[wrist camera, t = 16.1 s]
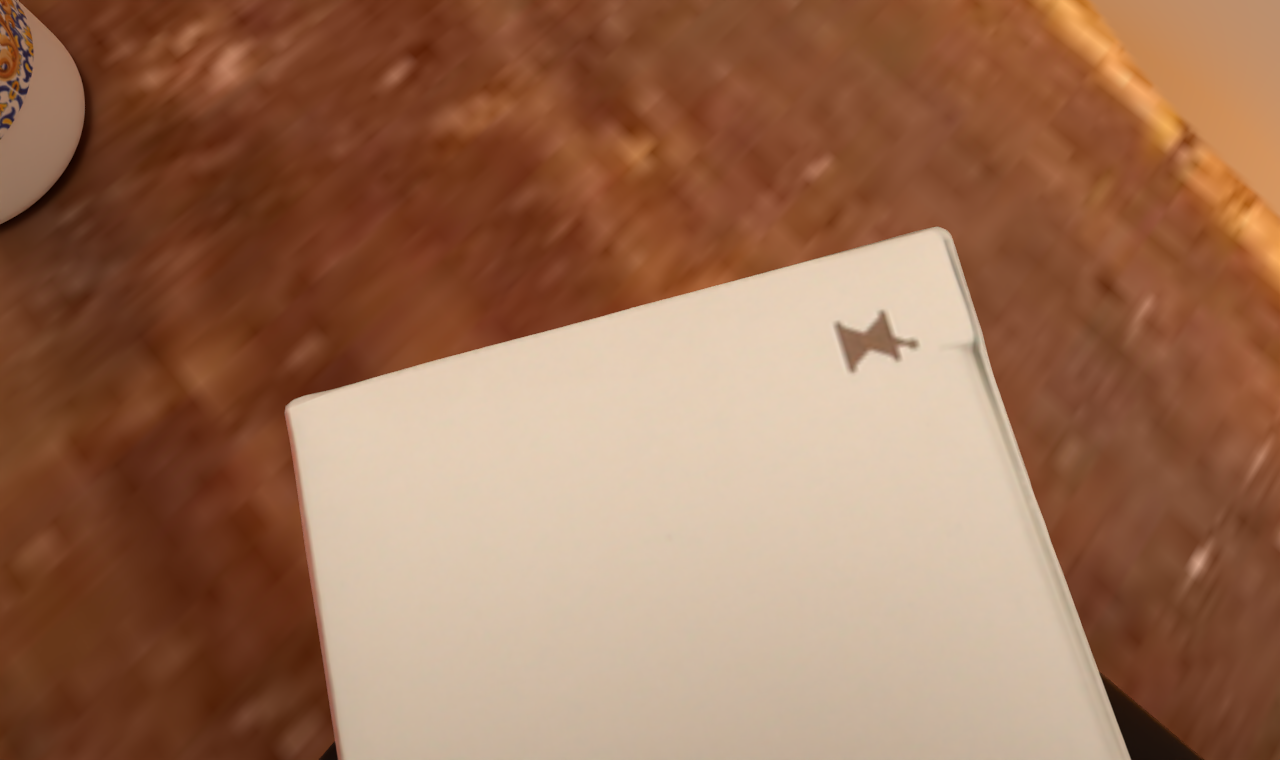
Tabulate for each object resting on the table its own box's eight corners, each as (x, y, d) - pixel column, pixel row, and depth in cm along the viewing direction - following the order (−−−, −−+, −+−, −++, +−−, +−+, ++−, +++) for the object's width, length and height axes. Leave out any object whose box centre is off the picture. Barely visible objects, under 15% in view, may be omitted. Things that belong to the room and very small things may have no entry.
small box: (531, 513, 17) (260, 371, 7) (814, 441, 17) (950, 189, 7) (629, 977, 15) (441, 1715, 5) (953, 898, 15) (1436, 1490, 5)
